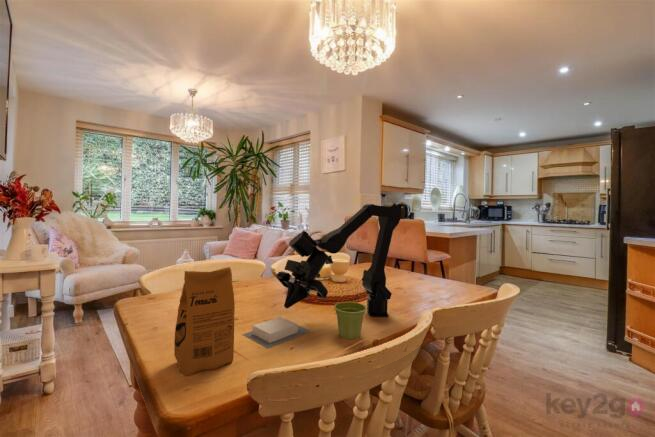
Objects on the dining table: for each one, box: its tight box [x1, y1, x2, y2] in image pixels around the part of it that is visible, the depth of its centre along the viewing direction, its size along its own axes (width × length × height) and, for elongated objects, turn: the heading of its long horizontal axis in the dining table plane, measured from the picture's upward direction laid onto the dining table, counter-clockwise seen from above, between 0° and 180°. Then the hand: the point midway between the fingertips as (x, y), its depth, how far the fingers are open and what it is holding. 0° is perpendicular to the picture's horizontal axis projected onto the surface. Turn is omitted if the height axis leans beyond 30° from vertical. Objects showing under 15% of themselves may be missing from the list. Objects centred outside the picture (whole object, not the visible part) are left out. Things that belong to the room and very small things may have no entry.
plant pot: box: [333, 301, 367, 340], centre depth 88 cm, size 9×9×9 cm
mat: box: [242, 325, 312, 349], centre depth 88 cm, size 16×12×1 cm
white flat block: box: [252, 316, 299, 343], centre depth 87 cm, size 3×8×10 cm
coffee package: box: [173, 266, 236, 376], centre depth 70 cm, size 10×12×22 cm
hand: (285, 307), depth 90 cm, fingers closed
